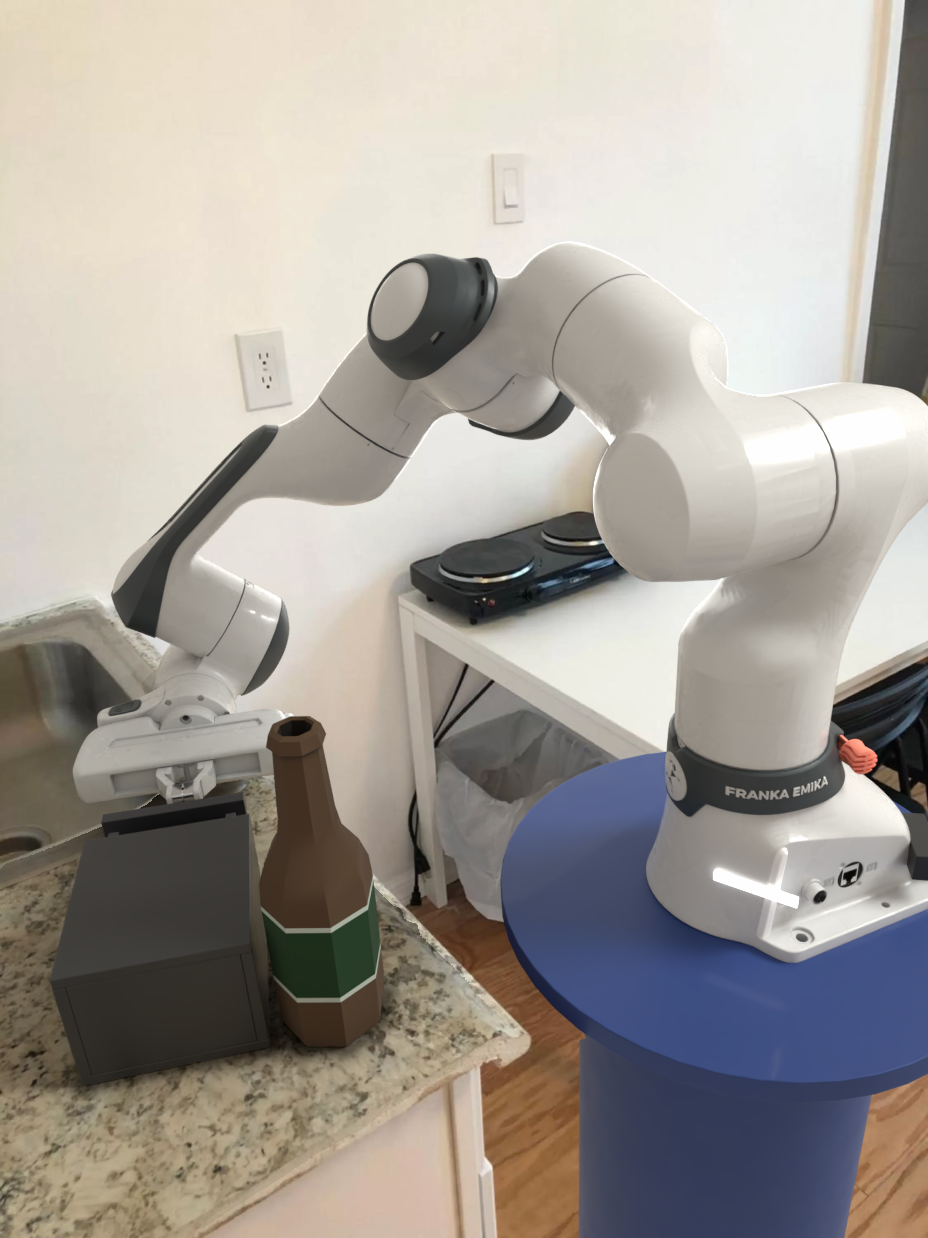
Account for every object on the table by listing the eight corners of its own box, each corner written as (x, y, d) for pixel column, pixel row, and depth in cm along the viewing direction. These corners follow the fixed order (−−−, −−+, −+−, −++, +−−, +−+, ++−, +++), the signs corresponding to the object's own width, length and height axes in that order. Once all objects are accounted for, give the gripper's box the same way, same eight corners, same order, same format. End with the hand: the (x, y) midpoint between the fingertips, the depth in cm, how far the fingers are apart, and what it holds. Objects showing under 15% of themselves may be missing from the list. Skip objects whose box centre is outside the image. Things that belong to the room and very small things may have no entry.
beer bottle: (406, 986, 70) (379, 707, 60) (353, 1068, 63) (312, 771, 53) (318, 957, 73) (278, 687, 63) (259, 1032, 66) (204, 746, 56)
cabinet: (109, 935, 76) (84, 840, 72) (266, 907, 78) (249, 813, 74) (82, 1087, 63) (49, 981, 59) (270, 1048, 65) (250, 943, 61)
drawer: (127, 858, 84) (109, 785, 80) (256, 836, 86) (243, 764, 82) (100, 1010, 68) (76, 928, 65) (258, 979, 70) (243, 898, 67)
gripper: (298, 735, 98) (305, 812, 86) (95, 766, 95) (73, 851, 82) (290, 683, 96) (297, 754, 83) (81, 713, 92) (56, 791, 80)
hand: (183, 802), depth 83 cm, fingers closed, pressing on drawer
